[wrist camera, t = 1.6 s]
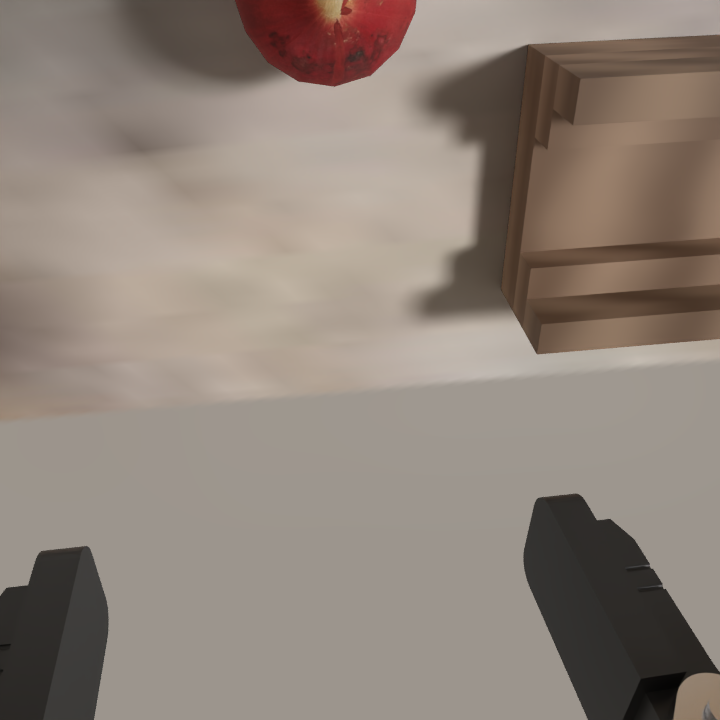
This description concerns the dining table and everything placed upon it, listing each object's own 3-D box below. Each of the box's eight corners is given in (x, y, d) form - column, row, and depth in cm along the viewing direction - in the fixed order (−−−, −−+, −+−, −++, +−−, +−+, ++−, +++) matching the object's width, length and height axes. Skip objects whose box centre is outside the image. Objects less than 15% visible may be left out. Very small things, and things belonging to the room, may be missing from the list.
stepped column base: (501, 289, 33) (536, 354, 28) (528, 44, 26) (580, 78, 22) (735, 271, 34) (806, 331, 29) (818, 29, 27) (924, 60, 23)
